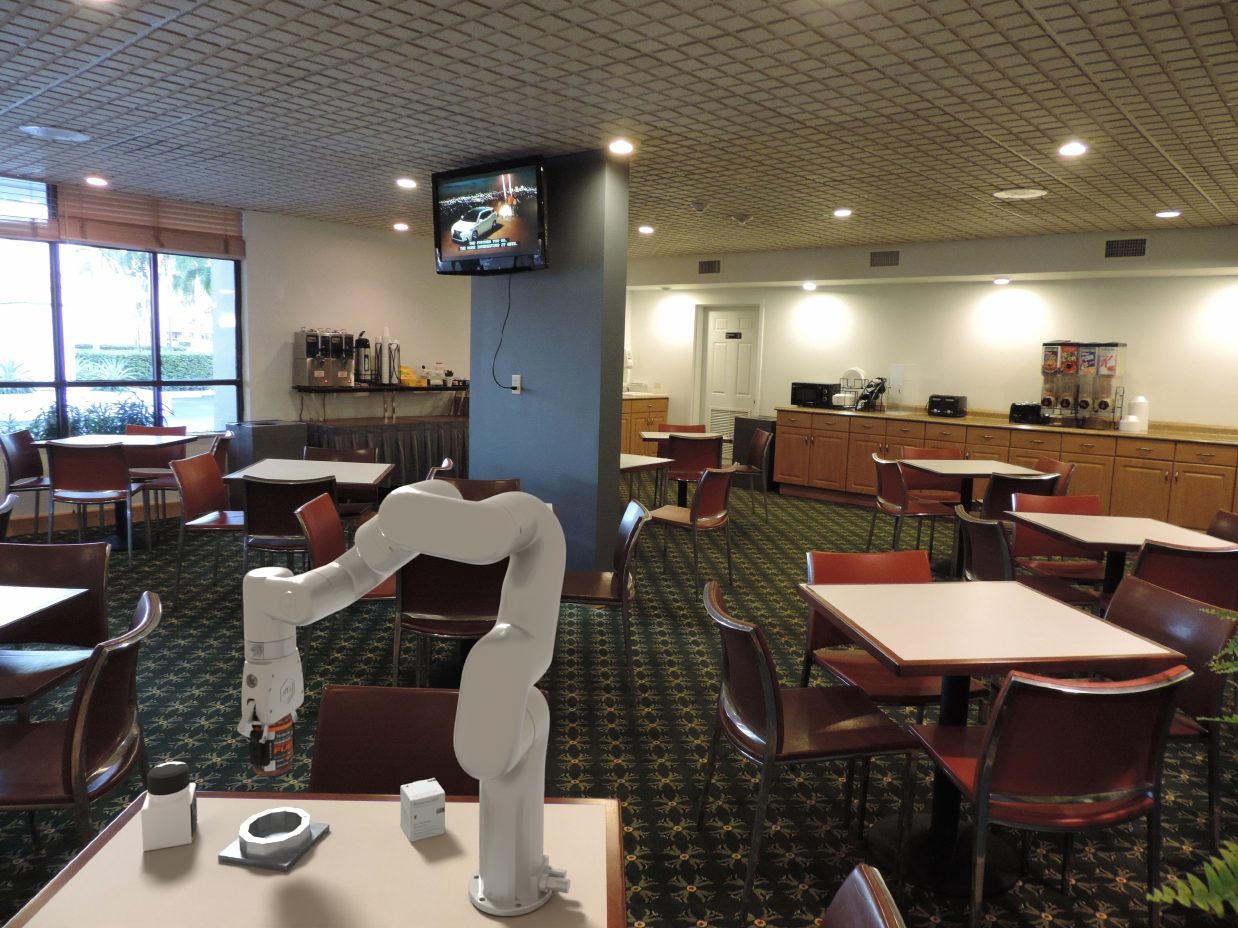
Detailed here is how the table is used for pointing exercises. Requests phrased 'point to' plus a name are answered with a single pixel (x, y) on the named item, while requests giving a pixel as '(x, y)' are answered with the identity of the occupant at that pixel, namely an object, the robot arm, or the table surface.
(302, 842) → the ring plate
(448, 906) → the table surface
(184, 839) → the medicine bottle
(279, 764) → the supplement bottle
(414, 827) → the skincare box
